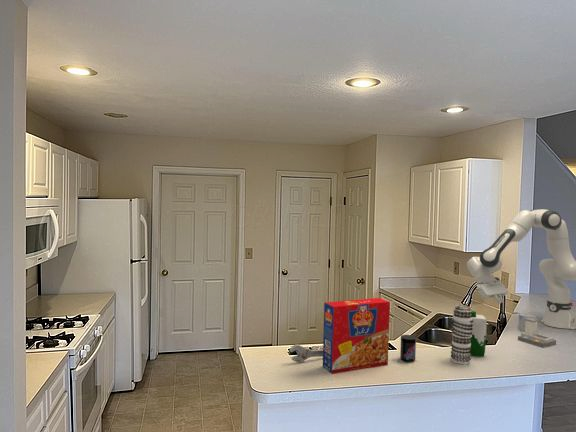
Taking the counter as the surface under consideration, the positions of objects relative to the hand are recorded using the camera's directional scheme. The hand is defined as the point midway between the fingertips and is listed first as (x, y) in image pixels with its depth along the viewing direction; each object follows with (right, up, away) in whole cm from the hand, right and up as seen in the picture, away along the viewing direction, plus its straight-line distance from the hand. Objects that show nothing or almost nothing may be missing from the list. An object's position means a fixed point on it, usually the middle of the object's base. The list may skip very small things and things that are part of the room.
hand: (501, 302), depth 242 cm
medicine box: (+16, -17, +3) cm, 23 cm away
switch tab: (+8, -15, -14) cm, 22 cm away
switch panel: (+10, -17, -17) cm, 26 cm away
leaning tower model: (-41, -17, -46) cm, 64 cm away
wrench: (-106, -16, -48) cm, 117 cm away
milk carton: (-31, -17, -36) cm, 51 cm away
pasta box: (-91, -17, -55) cm, 107 cm away
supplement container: (-66, -17, -46) cm, 82 cm away
